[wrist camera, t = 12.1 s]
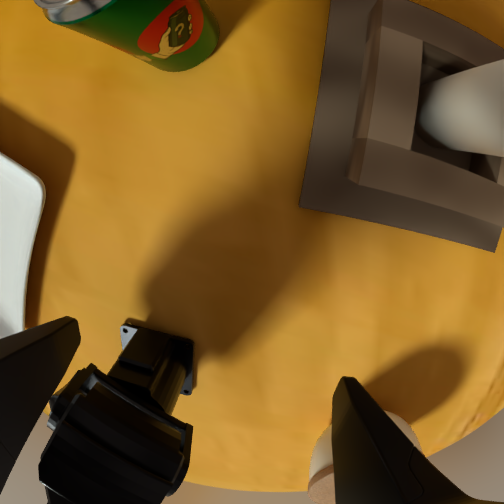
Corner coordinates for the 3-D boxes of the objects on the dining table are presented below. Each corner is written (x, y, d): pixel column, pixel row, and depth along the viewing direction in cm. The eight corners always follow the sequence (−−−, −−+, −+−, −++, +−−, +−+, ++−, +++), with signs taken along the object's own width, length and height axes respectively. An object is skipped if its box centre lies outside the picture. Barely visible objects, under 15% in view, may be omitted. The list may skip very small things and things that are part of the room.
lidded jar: (419, 424, 25) (440, 491, 17) (334, 460, 28) (338, 527, 20) (390, 372, 23) (418, 458, 14) (286, 419, 26) (283, 502, 17)
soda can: (226, 8, 15) (164, -106, 4) (214, 75, 17) (121, -2, 5) (155, 10, 15) (50, -67, 4) (142, 74, 17) (9, 33, 6)
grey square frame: (490, 249, 18) (519, 270, 14) (298, 205, 19) (302, 221, 15) (518, 63, 13) (549, 57, 9) (332, -18, 13) (341, -48, 9)
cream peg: (459, 156, 16) (567, 181, 7) (404, 137, 16) (506, 142, 7) (467, 96, 14) (572, 86, 5) (412, 74, 15) (508, 33, 5)
